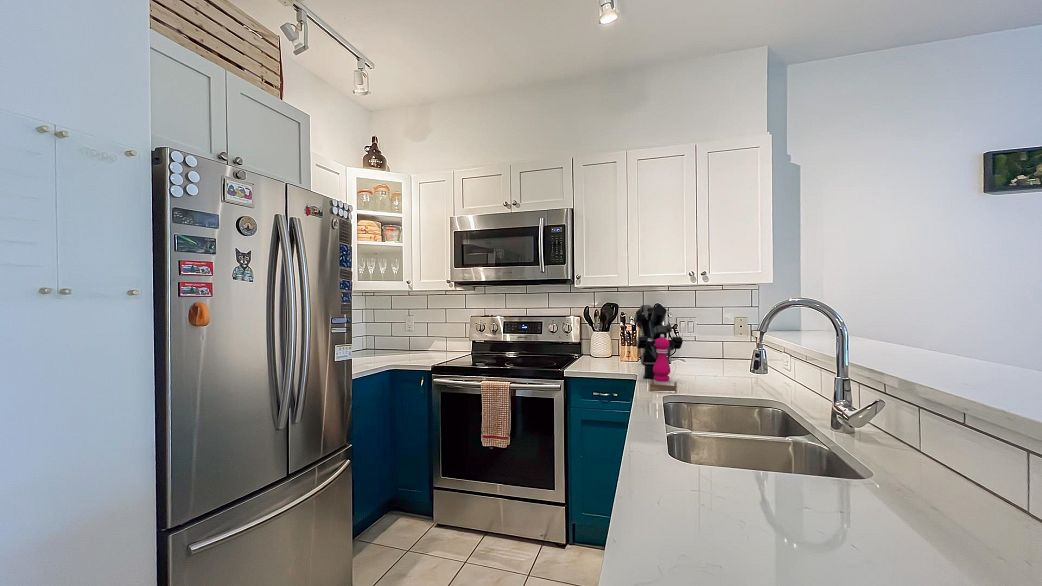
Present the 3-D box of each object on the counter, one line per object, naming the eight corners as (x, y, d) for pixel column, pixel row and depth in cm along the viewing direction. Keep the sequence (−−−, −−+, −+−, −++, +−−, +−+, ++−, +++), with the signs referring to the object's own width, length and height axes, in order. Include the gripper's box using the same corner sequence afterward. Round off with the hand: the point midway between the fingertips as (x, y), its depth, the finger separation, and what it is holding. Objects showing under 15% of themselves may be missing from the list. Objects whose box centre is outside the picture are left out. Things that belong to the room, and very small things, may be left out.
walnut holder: (651, 386, 191) (651, 380, 191) (676, 388, 187) (676, 381, 187) (649, 391, 182) (649, 384, 182) (675, 393, 178) (675, 386, 178)
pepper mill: (650, 380, 188) (650, 334, 187) (656, 377, 194) (657, 332, 193) (666, 383, 183) (667, 335, 183) (672, 380, 189) (673, 333, 188)
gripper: (638, 318, 193) (643, 346, 182) (681, 318, 191) (689, 347, 180) (635, 333, 201) (639, 362, 190) (676, 334, 199) (683, 362, 188)
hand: (662, 358), depth 187 cm, fingers closed on pepper mill, 5 cm apart
